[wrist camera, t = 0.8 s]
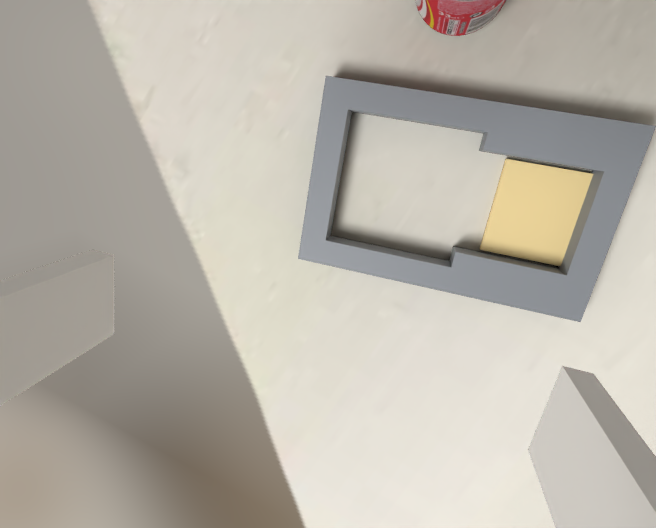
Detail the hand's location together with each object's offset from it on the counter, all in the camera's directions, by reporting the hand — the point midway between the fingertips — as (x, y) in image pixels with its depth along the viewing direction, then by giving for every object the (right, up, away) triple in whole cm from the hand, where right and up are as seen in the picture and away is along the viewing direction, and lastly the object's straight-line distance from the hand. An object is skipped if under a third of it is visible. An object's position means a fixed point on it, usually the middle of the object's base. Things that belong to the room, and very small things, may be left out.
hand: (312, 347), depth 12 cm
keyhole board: (+10, +8, +20) cm, 24 cm away
